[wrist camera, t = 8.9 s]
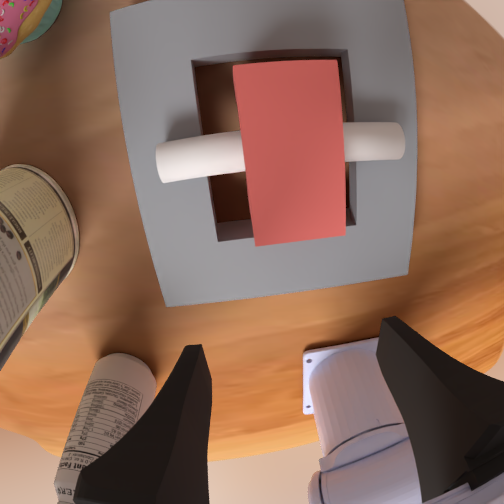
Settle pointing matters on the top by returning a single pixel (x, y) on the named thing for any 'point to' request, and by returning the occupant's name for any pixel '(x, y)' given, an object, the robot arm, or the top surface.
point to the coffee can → (31, 248)
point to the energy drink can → (104, 415)
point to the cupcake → (25, 21)
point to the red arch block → (292, 149)
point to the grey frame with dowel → (231, 151)
